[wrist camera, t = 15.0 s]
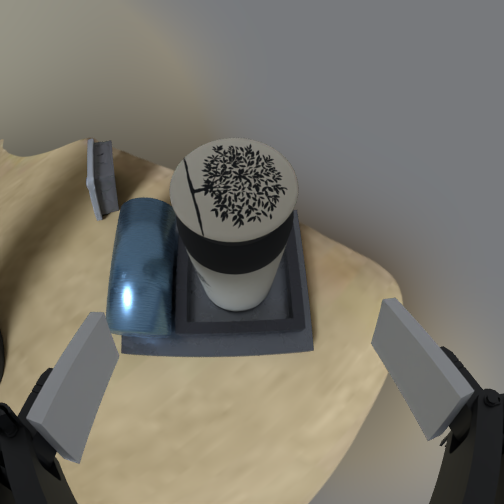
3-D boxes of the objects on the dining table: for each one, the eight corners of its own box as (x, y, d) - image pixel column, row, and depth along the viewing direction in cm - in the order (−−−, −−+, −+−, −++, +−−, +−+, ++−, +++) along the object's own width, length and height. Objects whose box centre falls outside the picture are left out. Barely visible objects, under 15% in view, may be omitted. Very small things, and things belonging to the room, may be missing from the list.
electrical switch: (94, 180, 40) (77, 141, 31) (122, 170, 41) (109, 130, 33) (98, 224, 36) (75, 186, 28) (129, 213, 38) (112, 173, 29)
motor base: (127, 354, 29) (92, 347, 21) (138, 223, 36) (115, 186, 28) (309, 351, 31) (333, 345, 22) (294, 217, 38) (307, 176, 29)
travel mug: (264, 242, 34) (284, 129, 17) (277, 306, 31) (319, 232, 14) (199, 251, 33) (165, 143, 16) (207, 316, 30) (166, 254, 13)
